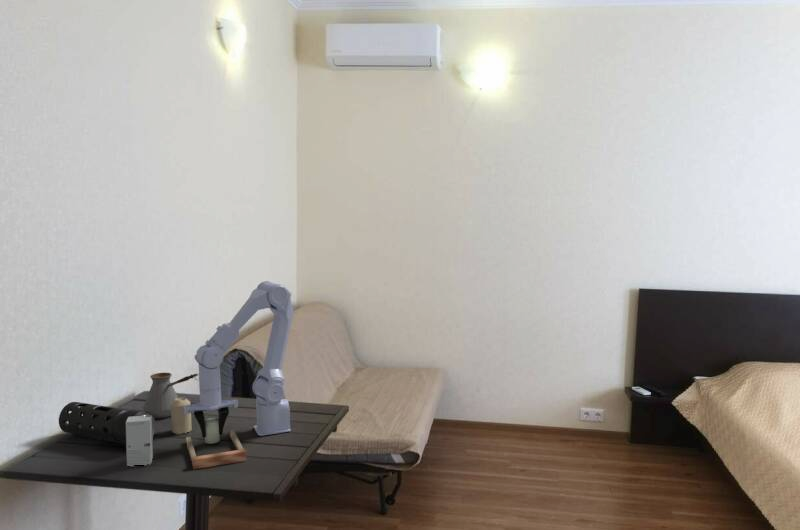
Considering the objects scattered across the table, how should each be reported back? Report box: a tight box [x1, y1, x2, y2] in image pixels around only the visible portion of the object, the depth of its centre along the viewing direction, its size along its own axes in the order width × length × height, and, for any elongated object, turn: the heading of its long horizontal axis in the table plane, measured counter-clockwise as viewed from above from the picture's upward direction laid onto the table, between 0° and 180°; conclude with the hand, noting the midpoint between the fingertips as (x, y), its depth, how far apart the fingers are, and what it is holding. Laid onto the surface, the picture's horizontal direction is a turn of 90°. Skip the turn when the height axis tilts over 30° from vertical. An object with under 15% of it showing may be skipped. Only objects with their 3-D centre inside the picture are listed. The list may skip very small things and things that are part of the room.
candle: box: [170, 397, 193, 435], centre depth 195 cm, size 6×6×10 cm
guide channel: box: [185, 430, 248, 470], centre depth 180 cm, size 13×20×2 cm
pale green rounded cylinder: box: [204, 417, 221, 445], centre depth 185 cm, size 4×4×6 cm
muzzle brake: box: [58, 401, 157, 447], centre depth 188 cm, size 10×28×10 cm, turn 67°
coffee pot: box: [143, 372, 199, 419], centre depth 209 cm, size 21×12×15 cm, turn 64°
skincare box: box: [125, 415, 154, 467], centre depth 172 cm, size 6×4×12 cm
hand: (212, 435), depth 186 cm, fingers closed on pale green rounded cylinder, 4 cm apart
